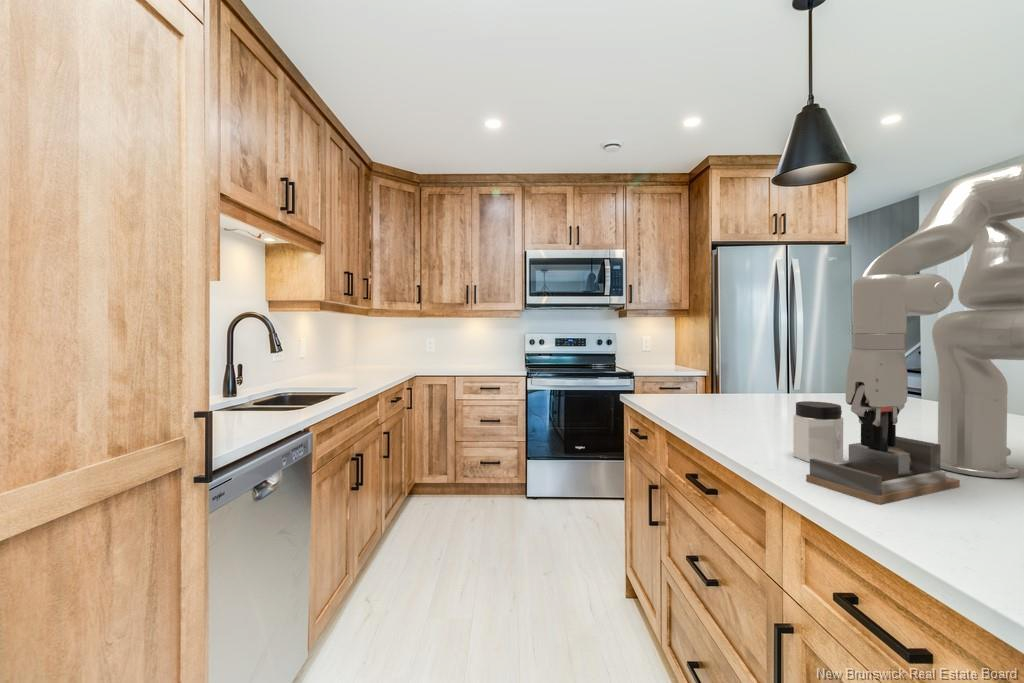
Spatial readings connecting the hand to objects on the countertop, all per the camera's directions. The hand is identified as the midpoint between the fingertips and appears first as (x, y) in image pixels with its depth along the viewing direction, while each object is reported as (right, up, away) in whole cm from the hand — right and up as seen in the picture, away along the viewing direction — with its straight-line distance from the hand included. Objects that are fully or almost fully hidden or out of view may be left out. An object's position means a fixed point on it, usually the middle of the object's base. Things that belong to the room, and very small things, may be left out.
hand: (877, 444), depth 79 cm
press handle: (0, -6, 0) cm, 6 cm away
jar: (0, -7, +16) cm, 18 cm away
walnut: (+5, -3, +2) cm, 6 cm away
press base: (+1, -7, 0) cm, 7 cm away
